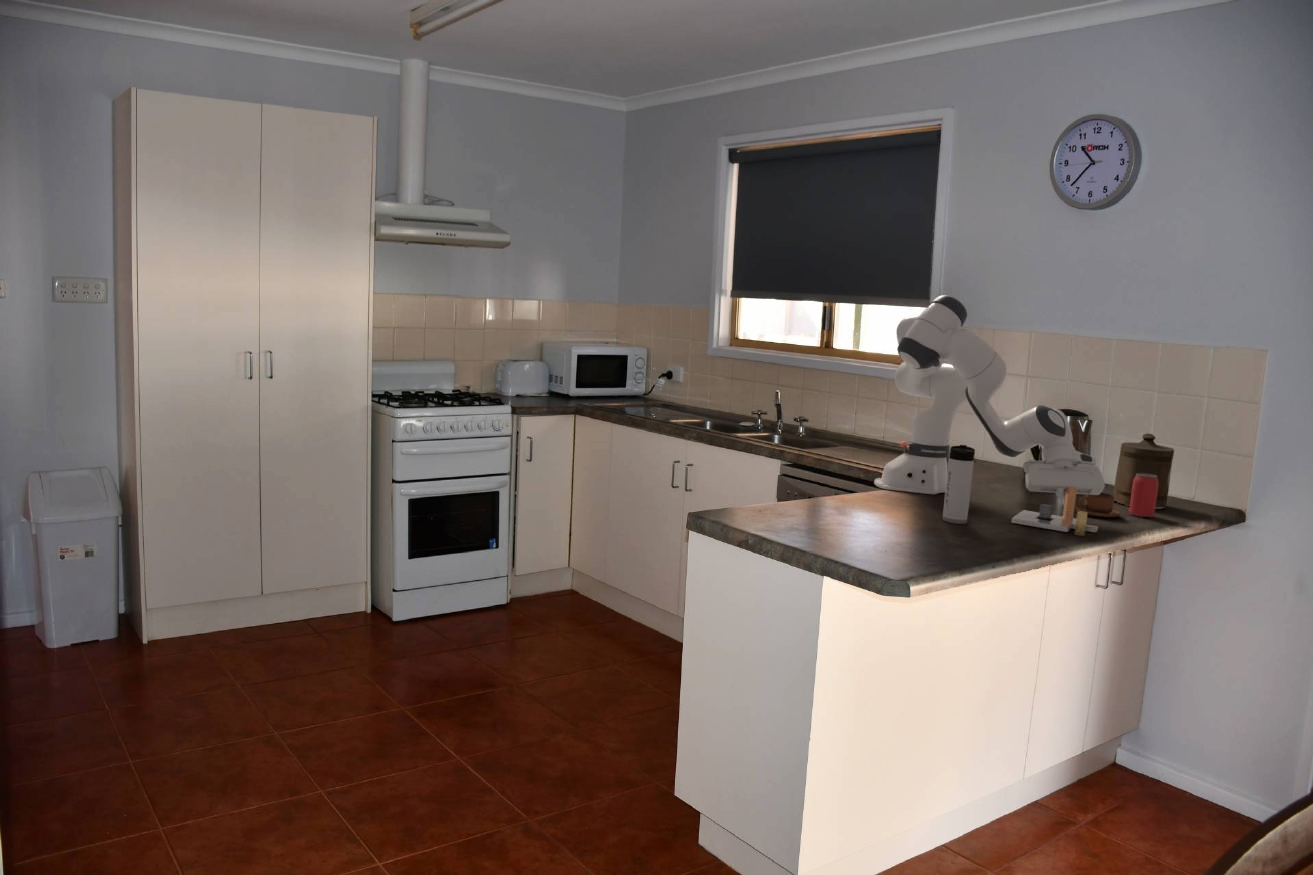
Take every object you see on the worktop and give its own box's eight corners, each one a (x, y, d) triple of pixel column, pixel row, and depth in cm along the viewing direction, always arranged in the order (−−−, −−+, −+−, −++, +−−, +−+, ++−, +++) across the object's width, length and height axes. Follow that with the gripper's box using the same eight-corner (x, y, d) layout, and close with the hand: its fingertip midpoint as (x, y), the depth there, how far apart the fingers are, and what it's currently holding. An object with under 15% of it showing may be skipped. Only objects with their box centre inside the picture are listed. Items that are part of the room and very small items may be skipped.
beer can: (1153, 515, 286) (1159, 474, 284) (1154, 519, 280) (1160, 478, 278) (1128, 511, 289) (1134, 471, 287) (1128, 515, 283) (1134, 474, 281)
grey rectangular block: (1040, 524, 262) (1042, 506, 262) (1036, 522, 265) (1038, 504, 265) (1051, 525, 262) (1054, 507, 262) (1047, 523, 265) (1050, 504, 265)
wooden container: (1177, 509, 297) (1187, 437, 294) (1137, 510, 293) (1147, 436, 289) (1140, 499, 311) (1150, 430, 308) (1101, 499, 307) (1110, 429, 303)
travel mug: (967, 520, 262) (975, 446, 259) (966, 525, 256) (975, 449, 253) (943, 517, 264) (951, 443, 261) (941, 521, 258) (949, 446, 255)
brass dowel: (1076, 535, 252) (1079, 512, 251) (1073, 533, 255) (1076, 510, 254) (1086, 536, 252) (1089, 513, 251) (1082, 533, 255) (1085, 511, 254)
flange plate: (1011, 522, 262) (1015, 484, 260) (1022, 514, 273) (1027, 478, 272) (1092, 536, 251) (1097, 497, 250) (1100, 527, 263) (1105, 489, 261)
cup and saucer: (1100, 521, 273) (1103, 499, 272) (1065, 511, 284) (1068, 490, 283) (1129, 519, 279) (1132, 498, 278) (1093, 509, 289) (1096, 489, 288)
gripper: (1025, 453, 270) (1032, 496, 262) (1101, 457, 269) (1111, 500, 261) (1018, 466, 276) (1025, 508, 268) (1093, 470, 275) (1102, 513, 267)
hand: (1068, 504), depth 264 cm, fingers closed, pressing on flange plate
